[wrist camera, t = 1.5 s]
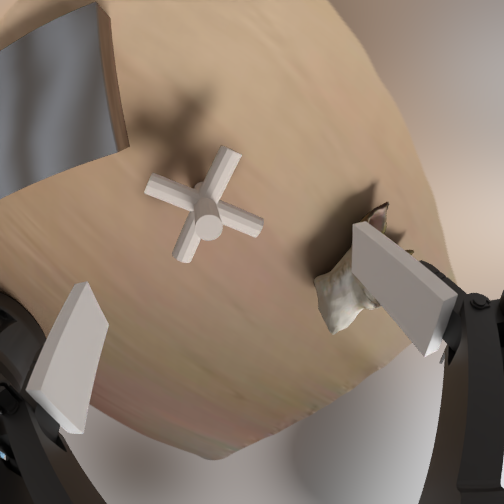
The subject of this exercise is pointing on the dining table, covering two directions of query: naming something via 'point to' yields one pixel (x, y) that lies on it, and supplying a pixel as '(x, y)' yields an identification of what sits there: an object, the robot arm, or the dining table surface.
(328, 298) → the ceramic sculpture
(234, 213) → the pipe connector
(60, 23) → the block
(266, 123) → the dining table surface
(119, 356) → the dining table surface
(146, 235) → the dining table surface
